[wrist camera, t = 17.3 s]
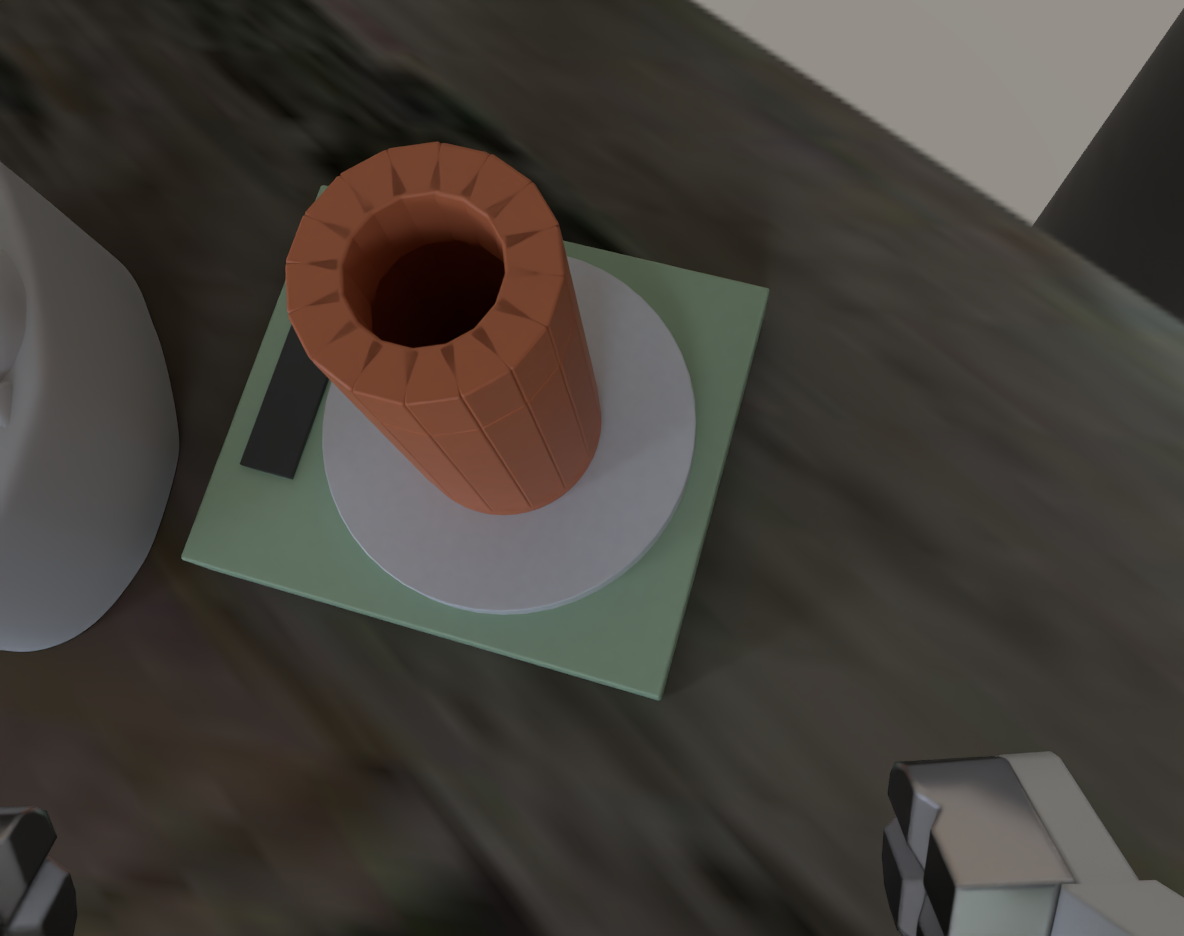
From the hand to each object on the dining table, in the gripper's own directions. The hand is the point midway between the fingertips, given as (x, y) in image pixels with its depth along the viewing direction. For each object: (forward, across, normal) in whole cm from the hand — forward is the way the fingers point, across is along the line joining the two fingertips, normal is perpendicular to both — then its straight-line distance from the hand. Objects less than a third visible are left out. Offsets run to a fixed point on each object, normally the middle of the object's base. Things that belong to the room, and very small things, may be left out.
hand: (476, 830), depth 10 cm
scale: (+22, +2, +5) cm, 22 cm away
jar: (+19, +1, +4) cm, 20 cm away
